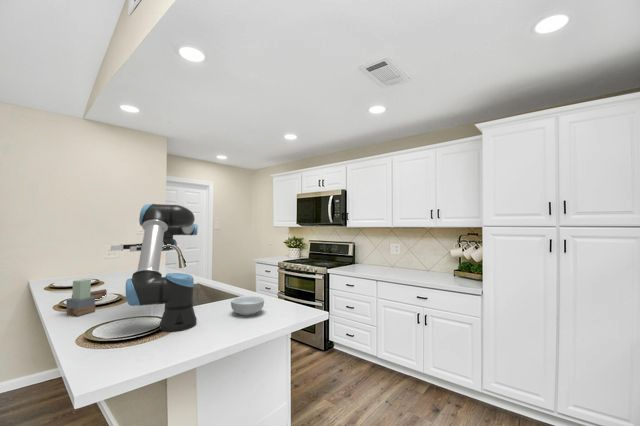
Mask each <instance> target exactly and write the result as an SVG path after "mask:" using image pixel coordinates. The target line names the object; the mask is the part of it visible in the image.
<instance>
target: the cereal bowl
mask: <svg viewBox="0 0 640 426" xmlns="http://www.w3.org/2000/svg"><path fill="white" fill-rule="evenodd" d="M264 299H265V298H264V297H260V296H255V295H254V296H253V295H252V296H251V295H250V296H249V295H247V296H246V295H245V296H239V297H235V298H232V299H231V301H230V307H231V309H232V311H234V313H237V314H239V315H241V316H246V317H247V316H253V315H255V314H256V313H258V312H260V311H261V310H262V309H263V308H264V305H265V300H264Z"/></svg>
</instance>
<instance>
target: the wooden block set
mask: <svg viewBox="0 0 640 426" xmlns="http://www.w3.org/2000/svg"><path fill="white" fill-rule="evenodd" d="M107 291H108V290H107V289H104V288H103V289H99V290H93V291H90V296H92V297H95V299H100V298H102V296H105V295H106V296H107V294H108V293H107ZM106 296H105V297H106ZM102 299H103V298H102Z"/></svg>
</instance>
